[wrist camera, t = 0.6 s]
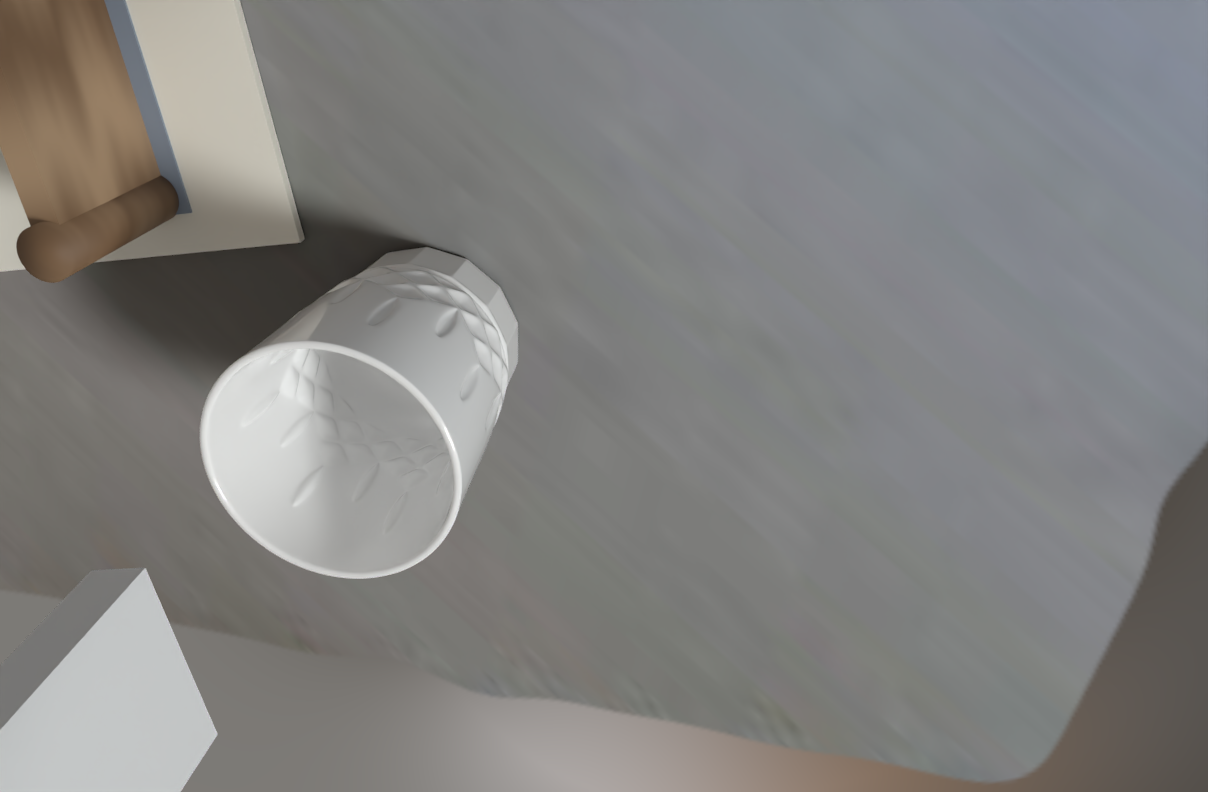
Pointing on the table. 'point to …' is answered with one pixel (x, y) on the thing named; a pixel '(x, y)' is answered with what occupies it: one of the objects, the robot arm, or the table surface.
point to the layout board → (193, 133)
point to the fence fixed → (74, 137)
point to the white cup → (364, 416)
